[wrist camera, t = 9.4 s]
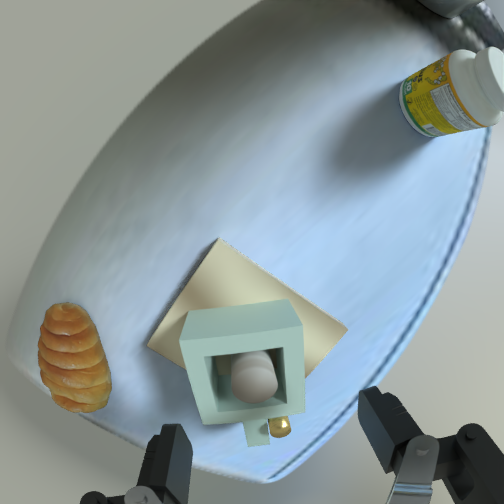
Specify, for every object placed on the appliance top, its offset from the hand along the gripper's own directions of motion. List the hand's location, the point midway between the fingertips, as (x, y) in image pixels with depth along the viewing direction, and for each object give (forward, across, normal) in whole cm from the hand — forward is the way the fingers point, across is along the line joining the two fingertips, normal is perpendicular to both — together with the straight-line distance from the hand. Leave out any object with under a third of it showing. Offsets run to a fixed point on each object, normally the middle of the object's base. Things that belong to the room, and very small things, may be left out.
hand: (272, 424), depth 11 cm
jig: (+9, +1, 0) cm, 9 cm away
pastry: (+9, +15, 0) cm, 18 cm away
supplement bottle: (+10, -16, -15) cm, 24 cm away
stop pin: (+8, 0, +5) cm, 10 cm away
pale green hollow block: (+8, +1, +3) cm, 8 cm away
